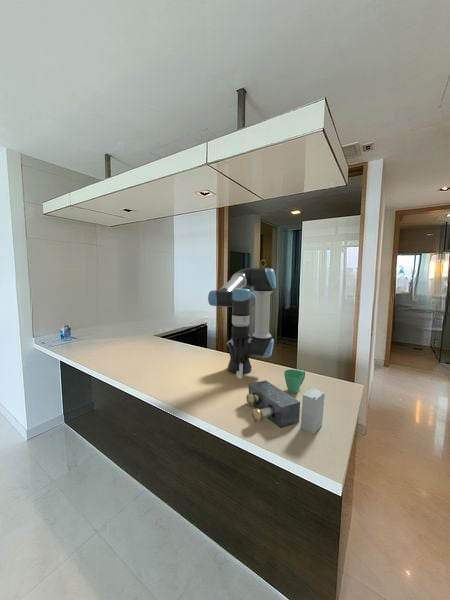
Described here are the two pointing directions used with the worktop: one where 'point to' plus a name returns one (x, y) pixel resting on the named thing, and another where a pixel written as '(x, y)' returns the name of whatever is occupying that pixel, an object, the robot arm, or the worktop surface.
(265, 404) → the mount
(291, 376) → the mug
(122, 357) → the worktop surface
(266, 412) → the knob right
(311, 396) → the skincare box
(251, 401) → the knob left
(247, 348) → the robot arm
